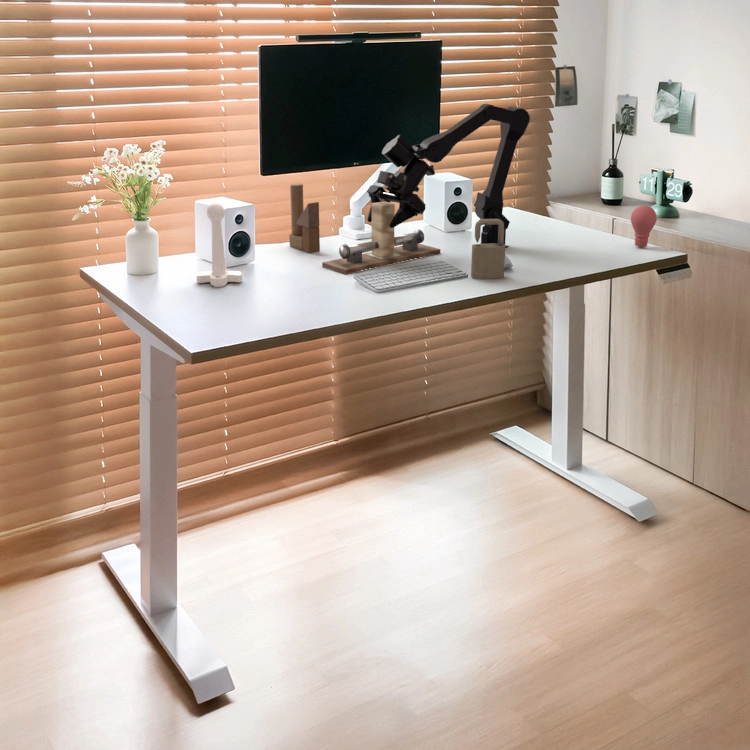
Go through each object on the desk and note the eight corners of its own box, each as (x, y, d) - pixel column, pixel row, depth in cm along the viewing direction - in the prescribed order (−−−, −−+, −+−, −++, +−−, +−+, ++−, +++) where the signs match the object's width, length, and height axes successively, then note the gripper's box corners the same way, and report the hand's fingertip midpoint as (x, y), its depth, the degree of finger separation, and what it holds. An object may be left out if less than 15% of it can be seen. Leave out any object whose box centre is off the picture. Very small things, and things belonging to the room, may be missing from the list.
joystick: (242, 278, 250) (238, 201, 243) (240, 287, 243) (236, 207, 236) (198, 279, 249) (193, 201, 242) (195, 288, 242) (189, 207, 235)
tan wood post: (385, 251, 270) (385, 201, 265) (395, 254, 267) (395, 203, 262) (370, 254, 267) (370, 203, 262) (380, 257, 264) (380, 206, 259)
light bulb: (643, 243, 284) (648, 202, 280) (658, 249, 278) (663, 207, 274) (623, 245, 282) (626, 204, 278) (637, 251, 276) (641, 209, 272)
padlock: (470, 275, 253) (472, 217, 248) (501, 274, 254) (504, 217, 248) (473, 279, 249) (475, 221, 244) (504, 278, 250) (507, 220, 244)
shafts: (415, 246, 277) (415, 228, 275) (424, 248, 274) (424, 230, 272) (338, 262, 260) (338, 243, 258) (347, 265, 257) (347, 246, 255)
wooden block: (309, 253, 274) (307, 189, 268) (289, 246, 282) (287, 183, 276) (320, 251, 276) (319, 188, 270) (299, 244, 284) (298, 182, 278)
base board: (416, 246, 281) (416, 241, 281) (440, 253, 274) (440, 248, 274) (322, 266, 261) (322, 261, 260) (345, 274, 254) (345, 268, 253)
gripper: (372, 155, 267) (340, 200, 264) (418, 163, 253) (385, 211, 251) (393, 180, 274) (363, 225, 272) (439, 190, 261) (408, 237, 258)
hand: (379, 224), depth 263 cm, fingers open, 9 cm apart
